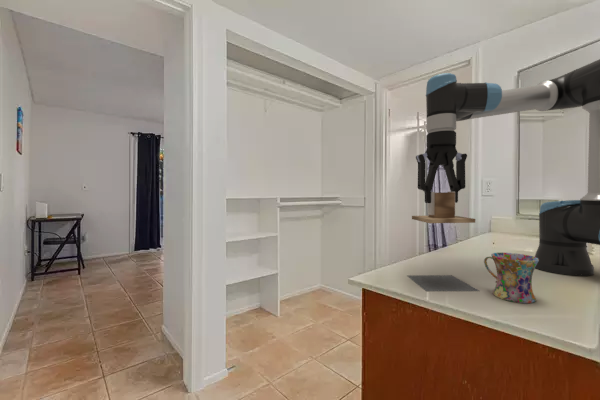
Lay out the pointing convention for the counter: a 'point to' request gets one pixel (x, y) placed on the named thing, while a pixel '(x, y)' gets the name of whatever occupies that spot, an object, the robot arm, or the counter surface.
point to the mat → (441, 283)
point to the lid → (444, 211)
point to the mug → (513, 276)
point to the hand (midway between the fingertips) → (441, 214)
